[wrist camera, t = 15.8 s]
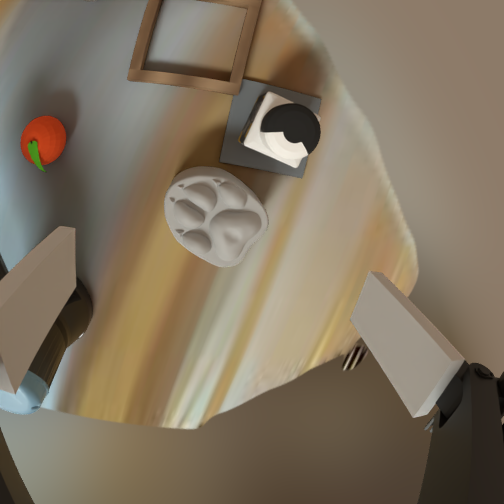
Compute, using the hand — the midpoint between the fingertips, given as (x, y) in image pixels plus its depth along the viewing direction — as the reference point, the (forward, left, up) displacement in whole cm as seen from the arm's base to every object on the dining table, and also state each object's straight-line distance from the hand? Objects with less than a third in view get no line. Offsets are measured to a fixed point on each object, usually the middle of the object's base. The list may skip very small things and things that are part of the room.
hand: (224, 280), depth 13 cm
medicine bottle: (+7, +7, -32) cm, 34 cm away
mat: (+7, +7, -33) cm, 34 cm away
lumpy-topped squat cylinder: (+1, -5, -33) cm, 33 cm away
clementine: (-24, +1, -33) cm, 41 cm away
